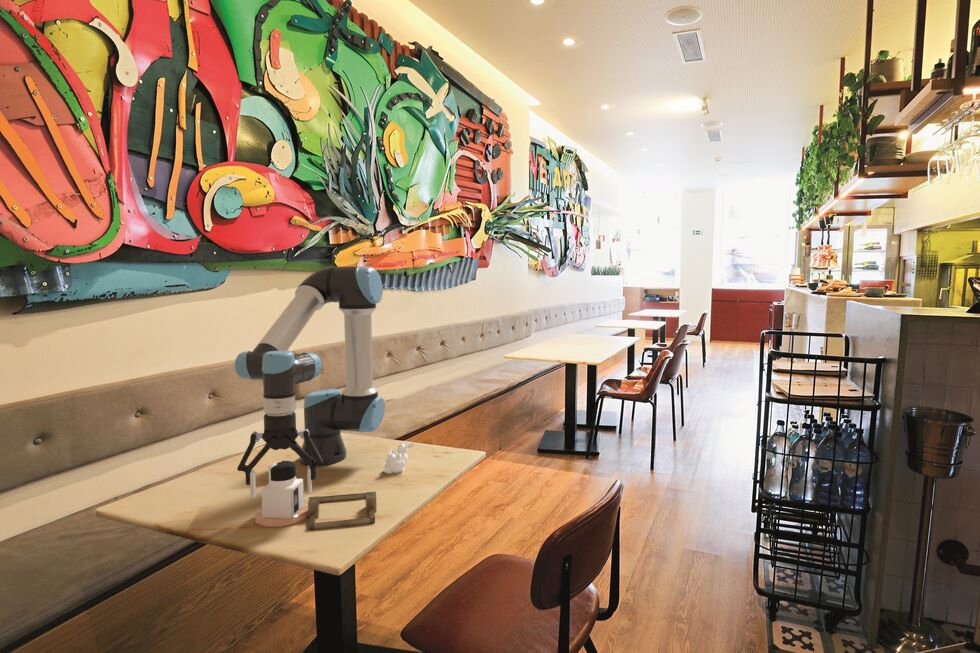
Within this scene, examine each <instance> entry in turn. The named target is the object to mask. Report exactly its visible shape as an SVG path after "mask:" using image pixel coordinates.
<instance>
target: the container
mask: <svg viewBox="0 0 980 653" xmlns="http://www.w3.org/2000/svg"><path fill="white" fill-rule="evenodd" d="M304 502H305V500H304V479H303V478H297V465H296V463H295V462H294V461H290V460H280V461H276V462H273V463H271V464H270V465H269V466H268V482H267V484H266V485H264V486H263V487H262V488H261V510H262V517H263V518H280V519H291V518H292V517H293V516H294V515H295V514H296V513H297V512H298V511H300V510H301V509H302V508H303V506H304V505H305V504H304Z"/></svg>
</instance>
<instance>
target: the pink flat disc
mask: <svg viewBox="0 0 980 653" xmlns="http://www.w3.org/2000/svg"><path fill="white" fill-rule="evenodd" d="M307 518H308V505H305V504H304V506H303V508H302V509H301V510H300V511H298V512H297V513H296V514H295V515H294V516H293V517H292V518H291V519H280V518H263V517H262V509H260V510H259V511H258V512H257V513H256V514H255V515H254V522H255V523H256V524H257V525H258V526H261V527H265V528H281V527H282V528H283V527H288V526H292V525H295V524H298V523H301V522H302V521H305V520H306V519H307Z"/></svg>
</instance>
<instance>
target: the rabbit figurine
mask: <svg viewBox="0 0 980 653" xmlns="http://www.w3.org/2000/svg"><path fill="white" fill-rule="evenodd" d="M414 445H415V444H414V442H410V443H407V444H403V443H402V442H400V444H399V445H398V446H397V450H396V449H394V450H393V451H392V448H393V447H390V448H389V452H388V454H387V458H386V460H385V462H384V468H383V472H384V473H385V474H387V475H391V474H399V473H401V472H404V471H405V465H406V464H407V463H408V461H409V457H408V456H409V455H408V449H412V448H414Z"/></svg>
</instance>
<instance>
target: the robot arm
mask: <svg viewBox="0 0 980 653" xmlns="http://www.w3.org/2000/svg"><path fill="white" fill-rule="evenodd" d="M383 289H384V288H383V283H382V280H381V276H380V274H379V273H378V271H377V270H376V269H375V268H373V267H372V266H371V267H370V266H364V265H363V266H361V265H359V266H357V265H356V266H353V265H352V266H340V265H339V266H336V265H331V266H326V267H323V268H320V269H318V270H316V271H315V272H313V273H311V274H310V275H309V276H307V277H306V278H305V279H304V280H303V281H302V282H301V283H300V284H299V285H298V286H297V288H296V289H295V291H294V297H293V299H291V301H290V302H289V303H288V304H287V306H286V307H285V308H284V310H283V311H282V313H281V314H280V315H279V317H278V318H277V319H276V320H275V322H274V323H273V324H272V325H271V327H270V328H269V329H268V331H267V332H266V333H265V335H264V336H263V337H262V339H261V340H260V341H259V342H258V344H257V345H256V347H254V349H253V350H252V351H251V350H247V351H242V352H240V353H239V354H238V355H237V356H236V358H235V361H234V371H235V373H236V375H237V376H238V377H239V378H241V379H245V380H252V381H257V380H258V381H262V385H263V396H262V398H263V402H262V404H263V413H265V414H264V415H263V432H257V431H256V430H255V431H253V432H252V433H251V435H250V438H249V444H248V446H247V448H246V450H245V452H244V454H243V456H242V458H241V459H240V462H239V463H238V466H237V468H236V470H237V471H238V472H244V474H245V485H247V486H250V487H249V488H250V499H251V500H252V499H255V497H256V495H257V488H256V487H257V484H256V469H254V468H255V466H257V465H258V463H259V462H260V461H261V460H262V458H263V457H264V456H265V454H267V453H268V451H269V450H270V449H271V450H273V451H278V450H288V449H291V450H292V451H293V452H295V454H297V455H298V457H299V462H300V463H301V464H303V465H307V494H308V495H310V494H312V492H313V491H312V489H313V488H312V484H313V483H312V481H314V480H316V479H317V478H316V477H317V475H316V474H317V473H316V472H317V469H316V468H317V467H319V466H329V465H330V466H331V465H334V464H339V463H340V462H342V461H343V460H346V458H347V449H346V446H345V443H344V440H343V436H342V433H341V432H342V431H347V432H359V433H361V434H362V433H373V432H375V431H377V430H378V429H379V427H380V426H381V424H382V422H383V419H384V416H385V411H386V402H385V399H384V398H383V397H382V396H379V391H378V389H377V387H375V386H374V378H373V376H374V375H373V373H374V372H373V371H374V368H373V332H372V330H373V328H372V327H373V325H372V314H373V312H374V311H375V310H376V309H377V304H379V303H380V302H381V300H382V298H383V294H384V291H383ZM329 303H338V308H339V311H340V312H342V313H343V321H344V324H343V326H344V352H345V353H344V355H345V356H344V357H345V358H344V359H345V387H344V388H343V389H342V391H341V390H340V389H338V388H329V389H321V390H317V391H312V392H310V393H308V394H306V395H305V396H304V398H303V401H304V402H303V417H304V418H303V419H304V420H303V421H304V429H303V430H297V417H296V412H295V410H296V385H298V384H299V385H300V384H302V383H305V382H310V381H311V380H313V379H315V378H317V377H318V376H319V375H320V374H321V371H322V368H323V365H322V361H321V358H320V357H319V356H318V355H317V354H316V353H314V352H312V351H310V352H308V351H307V352H304V351H303V352H301V353H294V352H293V351H291V350H289V349H290V347H291V346H292V345H293V344H294V342H295V340H296V339H297V338H298V336H299V335H300V334H301V332H302V331H303V329H304V328H305V326H306V325H307V324H308V322H309V321H310V319H311V318H312V317H313V316H314V314H315V312H316V311H319V310H321V309H323V307H324V306H325V305H326V304H329ZM298 437H300V439H302V440H303V441H302V442H303V443H302V445H301V446H300V445H299V443H298V441H297V438H298ZM261 439H262V440H263V441H264V442H265V444H264V446H263V447H262V448H261V450H259V452H258V453H257V454H256V455H255V456H254V458H253V459H252V460H251V461H250V462H249V464H248V465H247V464H246V463H247V461H248V459H249V457H250V455H251V454H252V452H253V449H254V447H255V445H256V444H257V443H258V442H259V441H260V440H261Z"/></svg>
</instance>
